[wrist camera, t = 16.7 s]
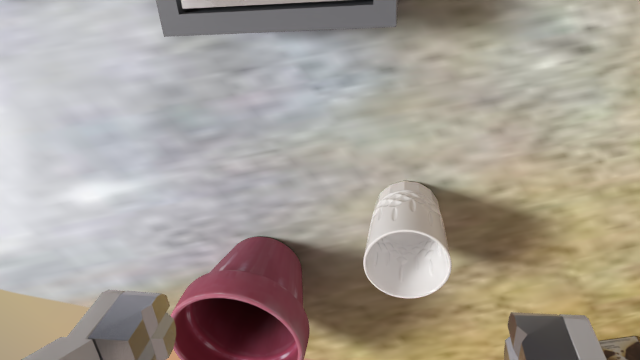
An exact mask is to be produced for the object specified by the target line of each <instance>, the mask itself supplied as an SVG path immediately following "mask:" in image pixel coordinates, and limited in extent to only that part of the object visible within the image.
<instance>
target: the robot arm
mask: <svg viewBox="0 0 640 360" xmlns="http://www.w3.org/2000/svg"><path fill="white" fill-rule="evenodd" d="M169 306H170V304H169V302H168V299H167V296H166V295H164V294H160V293H147V292H135V291H117V290H107V291H105V292H103V293H102V294H101V295H100V296H99V297H98V299H97V300H96V301H95V302H94V304H93V305H92V306H91V307H90V309H89V310H88V311H87V312H86V314H85V315H84V316H83V317H82V319H81V320H80V321H79V322H78V324H77V325H76V326H75V327H74V329H73V330H72V331H71V332H70V334H69V335H68V336H67V337H60V338H59V339H57V340H55V341H53V342H51V343H50V344H48V345H46V346H44V347H43V348H41V349H39V350H37V351H36V352H34V353H32V354H30V355H29V356H27V357H25V358H23V359H22V360H166V359H167V358H169V356H170V354H171V352H172V350H173V348H174V344H175V339H176V325H175V321H174V319H173V318H172V317H171V316H170V315H169V314H168V313H167V312H166V311H167V310H168V308H169ZM508 329H509V333H510V337H509V338H508V339H506V340H505V348H504V360H607V359H606V357H605V355H604V352H603V350H602V348H601V346H600V344H599V341H598V339H597V337H596V335H595V332H594V330H593V328H592V326H591V323H590V321H589V319H588V318H587V317H586V316H585V315H561V314H560V315H557V314H535V313H513V312H511V314H510V316H509V321H508Z"/></svg>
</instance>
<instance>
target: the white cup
mask: <svg viewBox="0 0 640 360" xmlns="http://www.w3.org/2000/svg"><path fill="white" fill-rule="evenodd" d="M363 266H364V271H365V273H366V276H367V277H368V279H369V280H370V282H371V283H372V284H373V285H374V286H375V287H376V288H378V289H379V290H381V291H382V292H384V293H386V294H388V295H391V296H394V297H399V298H419V297H424V296H427V295H429V294H432V293H434V292H435V291H437V290H438V289H440V288H441V287H442V286H443V285H444V284H445V282H446V281H447V279H448V278H449V275H450V272H451V258H450V253H449V248H448V242H447V237H446V232H445V228H444V224H443V219H442V216H441V213H440V210H439V204H438V200H437V199H436V197H435V196H434V194H433V193H432V191H431V190H430V189H429V188H427V187H425V186H423V185H422V184H420V183H418V182H410V181H402V182H398V183H394V184H391V185H389V186H388V187H387V188H386V189H384V190H383V191H382V192H381V193H380V195H379V197H378V199H377V202H376V204H375V209H374V212H373V215H372V220H371V224H370V228H369V233H368V238H367V244H366V249H365V254H364V259H363Z"/></svg>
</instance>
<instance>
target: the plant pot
mask: <svg viewBox="0 0 640 360" xmlns="http://www.w3.org/2000/svg"><path fill="white" fill-rule="evenodd" d="M171 317H172V318H173V319H174V321H175V325H176V339H175V344H174V348H173V349H174V351H175V352H176V354H177V355H178V356H179V358H180V359H181V360H303V359H304V356H305V352H306V348H307V344H308V338H309V321H308V318H307V315H306V313H305V311H304V309H303V289H302V268H301V264H300V261H299V259H298V257H297V256H296V254H295V253H294V252H293V251H292V250H291V249H290V248H289V247H288V246H286V245H285V244H283V243H281V242H279V241H277V240H275V239H272V238H267V237H252V238H248V239H245V240H243V241H241V242H240V243H238V244H237V245H236V246H235V247H234V248H233V249H232V250H231V251H230V252H229V253H228V254H227V255H226V256H225V257H224V258H223V259H222V260H221V261H220V262H219V263H218V265H217V266H216V267H215V268H214V269H213V270H212V271H211V272H210V273H208V274H205V275H203V276H201V277H199V278H198V279H196V280H195V281H194V282H192V283H191V284H190V285H189V286H188V288H187V289H186V290H185V292H184V293H183V295H182V297H181V298H180V300H179V302H178V303H177V305H176V307H175V309H174V310H173V312H172V314H171Z"/></svg>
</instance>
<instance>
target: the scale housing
mask: <svg viewBox="0 0 640 360" xmlns="http://www.w3.org/2000/svg"><path fill="white" fill-rule="evenodd" d="M156 3H157V7H158V12H159V16H160V21H161V25H162V30H163V34H164V37H166V36H189V35H213V34H237V33H261V32H285V31H309V30H333V29H356V28H380V27H396V24H397V13H398V0H341V1H322V2H302V3H283V4H264V5H245V6H226V7H206V8H187V9H183V8H182V3H181V0H156Z"/></svg>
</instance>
